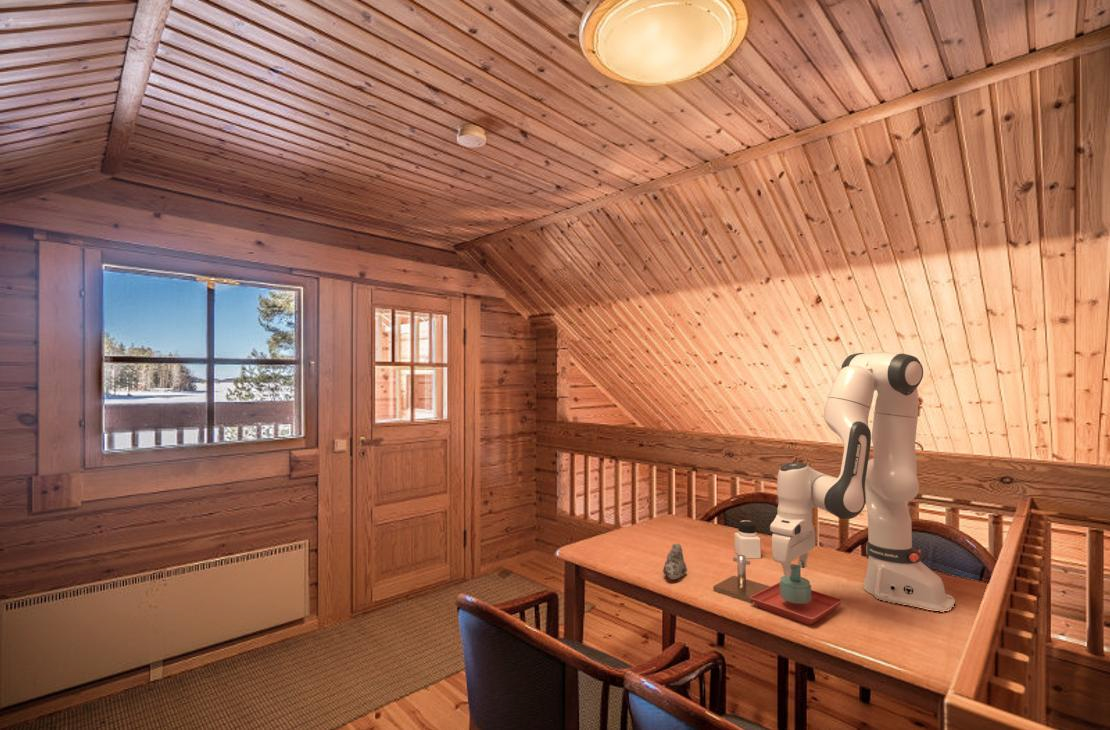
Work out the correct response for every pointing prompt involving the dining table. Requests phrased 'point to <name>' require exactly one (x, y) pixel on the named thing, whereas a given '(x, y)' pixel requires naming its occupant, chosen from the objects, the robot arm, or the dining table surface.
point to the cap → (795, 587)
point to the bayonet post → (740, 583)
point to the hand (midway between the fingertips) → (795, 571)
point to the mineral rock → (675, 563)
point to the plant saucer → (796, 605)
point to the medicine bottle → (747, 540)
